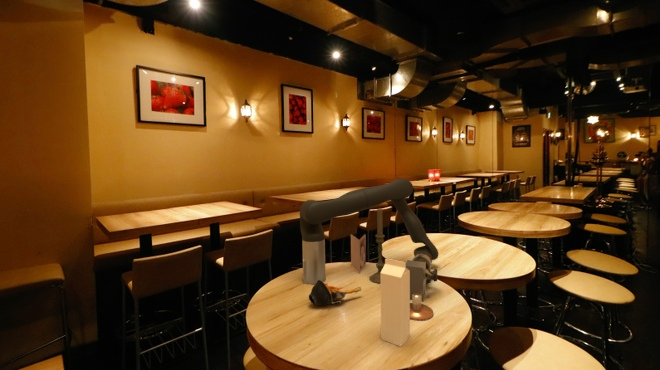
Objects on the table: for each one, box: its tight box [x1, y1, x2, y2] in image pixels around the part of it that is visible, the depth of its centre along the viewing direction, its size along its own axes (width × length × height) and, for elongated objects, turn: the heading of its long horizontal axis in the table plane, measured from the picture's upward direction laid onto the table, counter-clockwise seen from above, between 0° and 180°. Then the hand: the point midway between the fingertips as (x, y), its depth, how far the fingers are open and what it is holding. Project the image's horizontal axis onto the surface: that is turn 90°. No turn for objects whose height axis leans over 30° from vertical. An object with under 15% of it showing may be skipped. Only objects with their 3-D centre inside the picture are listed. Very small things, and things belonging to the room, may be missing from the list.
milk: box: [380, 258, 411, 347], centre depth 82 cm, size 6×6×22 cm
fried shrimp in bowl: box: [308, 280, 362, 307], centre depth 105 cm, size 9×11×18 cm
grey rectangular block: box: [405, 259, 427, 303], centre depth 107 cm, size 6×6×12 cm
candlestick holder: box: [368, 208, 385, 285], centre depth 122 cm, size 9×9×30 cm
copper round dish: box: [410, 293, 434, 322], centre depth 96 cm, size 10×10×6 cm
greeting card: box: [350, 233, 367, 274], centre depth 136 cm, size 11×7×15 cm, turn 160°
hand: (414, 280), depth 106 cm, fingers open, 8 cm apart
